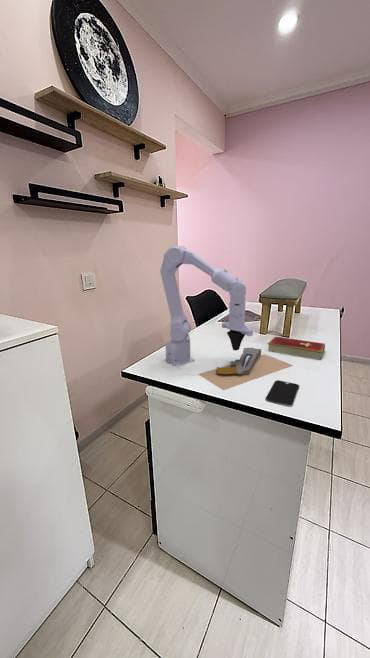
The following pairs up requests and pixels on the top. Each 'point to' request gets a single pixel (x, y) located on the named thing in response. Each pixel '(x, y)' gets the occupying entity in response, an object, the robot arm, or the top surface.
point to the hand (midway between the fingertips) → (235, 349)
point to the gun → (242, 363)
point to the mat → (260, 369)
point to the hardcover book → (296, 347)
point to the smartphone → (282, 393)
